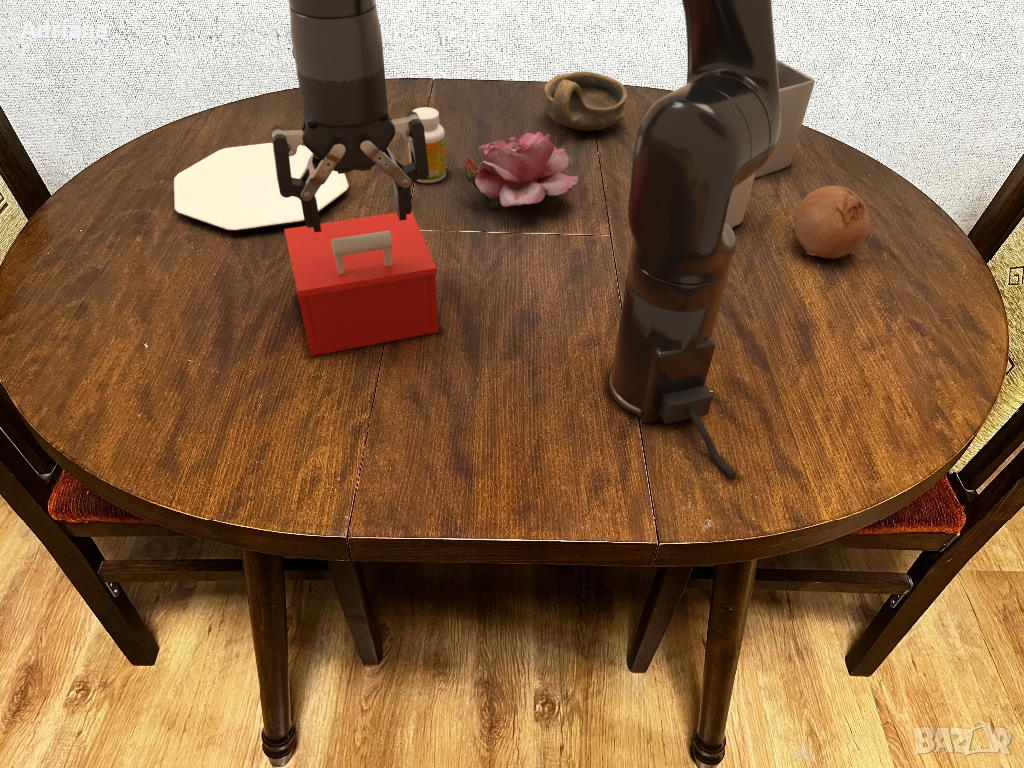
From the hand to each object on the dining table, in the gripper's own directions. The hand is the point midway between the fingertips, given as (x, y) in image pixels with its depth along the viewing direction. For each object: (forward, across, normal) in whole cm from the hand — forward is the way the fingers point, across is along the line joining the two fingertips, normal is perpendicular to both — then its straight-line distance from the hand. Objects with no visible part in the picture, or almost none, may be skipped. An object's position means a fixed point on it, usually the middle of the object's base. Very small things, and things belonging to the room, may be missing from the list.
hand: (359, 222), depth 77 cm
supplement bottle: (+15, +15, +35) cm, 41 cm away
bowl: (+15, +43, +44) cm, 63 cm away
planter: (+15, +67, +25) cm, 73 cm away
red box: (+15, 0, +4) cm, 16 cm away
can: (+15, +51, +12) cm, 54 cm away
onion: (+15, +61, +1) cm, 63 cm away
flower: (+15, +26, +24) cm, 38 cm away
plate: (+16, -9, +37) cm, 41 cm away
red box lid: (+6, 0, +4) cm, 7 cm away
